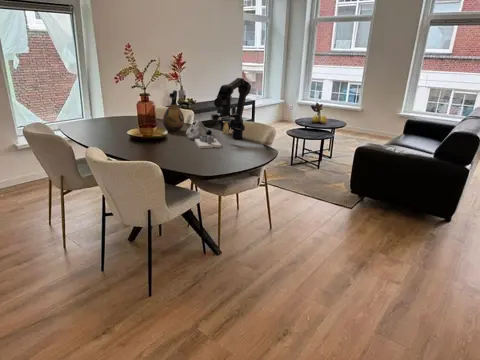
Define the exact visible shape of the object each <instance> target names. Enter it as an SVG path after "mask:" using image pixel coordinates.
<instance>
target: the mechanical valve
mask: <svg viewBox="0 0 480 360" xmlns="http://www.w3.org/2000/svg"><path fill="white" fill-rule="evenodd" d="M202 129H203V130H204V131H205V134H206V135H209V136H212V134H213V133H212V130H211V129H208V128H207V127H206V126H205V125H204V124H203V122H202V121H201V120H200V119H198V120H197V121H196V122H195V123H194V124H190V126H189V127H188V128H187V130H186V132H185V135H186V136H187V138H189V139H190V140H194V141H195V139H200V136H201V134H202Z"/></svg>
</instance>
